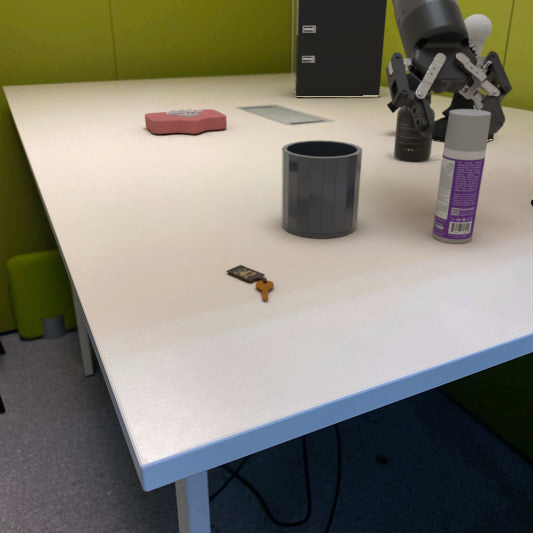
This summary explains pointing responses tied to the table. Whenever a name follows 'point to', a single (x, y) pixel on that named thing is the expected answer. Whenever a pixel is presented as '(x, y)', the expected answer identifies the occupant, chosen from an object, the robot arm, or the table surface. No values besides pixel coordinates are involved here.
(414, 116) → the robot arm
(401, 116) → the supplement bottle
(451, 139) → the container
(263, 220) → the table surface
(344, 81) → the binder
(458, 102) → the sculpture
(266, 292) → the key tag
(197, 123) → the red sponge
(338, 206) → the grey cylindrical cup
